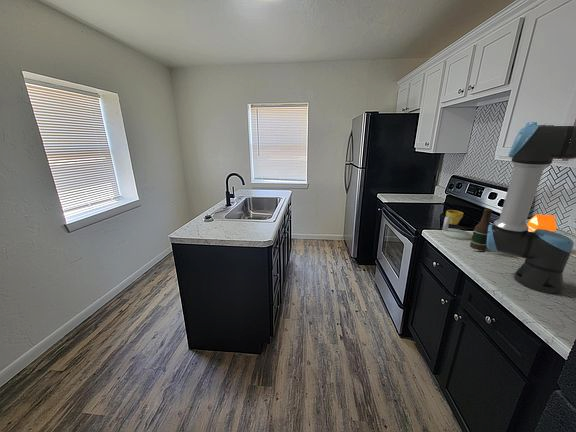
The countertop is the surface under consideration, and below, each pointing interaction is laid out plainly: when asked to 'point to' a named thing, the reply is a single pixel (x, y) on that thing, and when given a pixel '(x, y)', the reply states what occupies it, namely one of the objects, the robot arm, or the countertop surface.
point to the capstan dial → (454, 231)
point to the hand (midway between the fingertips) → (514, 196)
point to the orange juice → (542, 223)
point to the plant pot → (454, 216)
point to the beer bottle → (481, 232)
